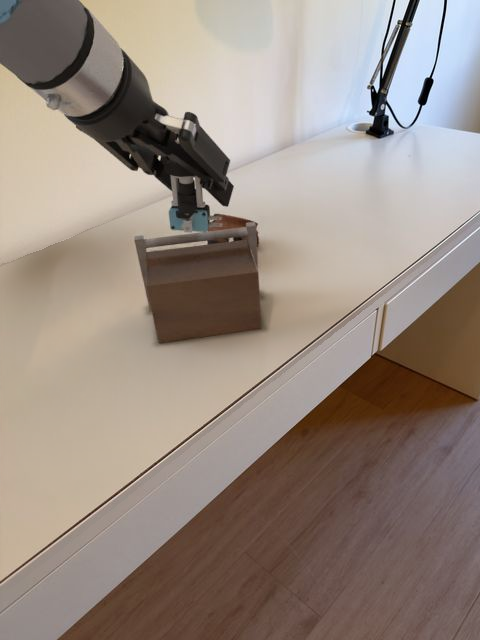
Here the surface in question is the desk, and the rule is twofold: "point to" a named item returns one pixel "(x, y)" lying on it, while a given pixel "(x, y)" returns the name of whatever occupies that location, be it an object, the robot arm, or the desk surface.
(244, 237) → the pottery mug
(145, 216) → the desk surface
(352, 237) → the desk surface
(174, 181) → the push button
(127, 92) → the robot arm
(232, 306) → the box
